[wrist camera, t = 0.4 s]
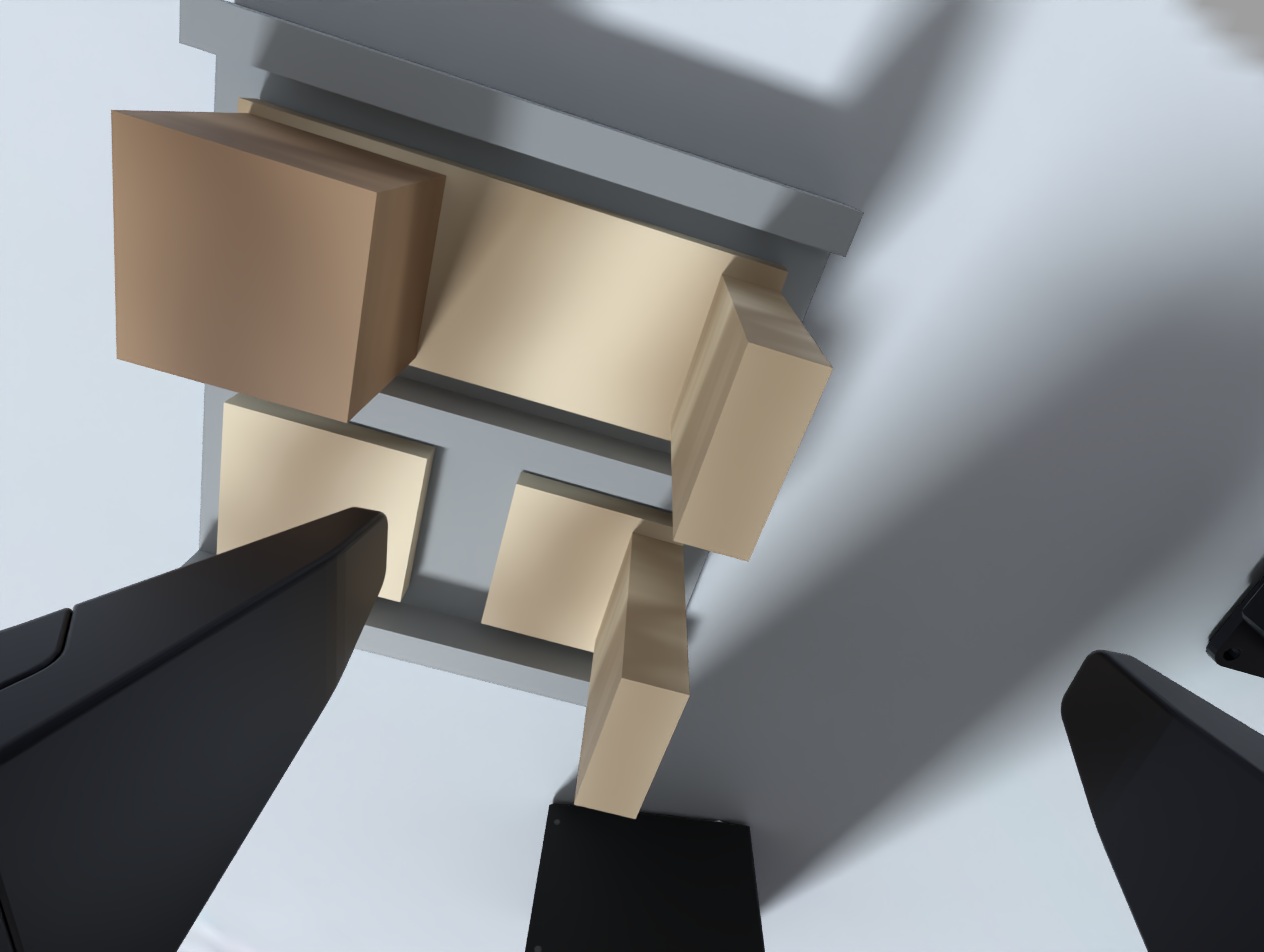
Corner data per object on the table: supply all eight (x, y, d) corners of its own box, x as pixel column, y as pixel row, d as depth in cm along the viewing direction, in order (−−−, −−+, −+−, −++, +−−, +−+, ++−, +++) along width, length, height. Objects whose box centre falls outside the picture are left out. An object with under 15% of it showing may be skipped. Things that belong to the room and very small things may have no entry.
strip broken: (687, 518, 21) (697, 677, 15) (638, 647, 23) (629, 833, 17) (239, 391, 20) (53, 510, 14) (231, 540, 22) (67, 699, 16)
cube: (446, 175, 17) (376, 192, 13) (416, 357, 19) (346, 422, 15) (248, 112, 16) (111, 109, 12) (238, 306, 18) (117, 358, 14)
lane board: (843, 203, 18) (863, 212, 16) (652, 679, 25) (651, 723, 23) (232, 2, 17) (179, -13, 15) (208, 565, 23) (171, 602, 22)
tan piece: (783, 265, 18) (845, 339, 12) (715, 442, 20) (739, 582, 14) (256, 98, 17) (23, 84, 11) (244, 305, 19) (45, 392, 13)
